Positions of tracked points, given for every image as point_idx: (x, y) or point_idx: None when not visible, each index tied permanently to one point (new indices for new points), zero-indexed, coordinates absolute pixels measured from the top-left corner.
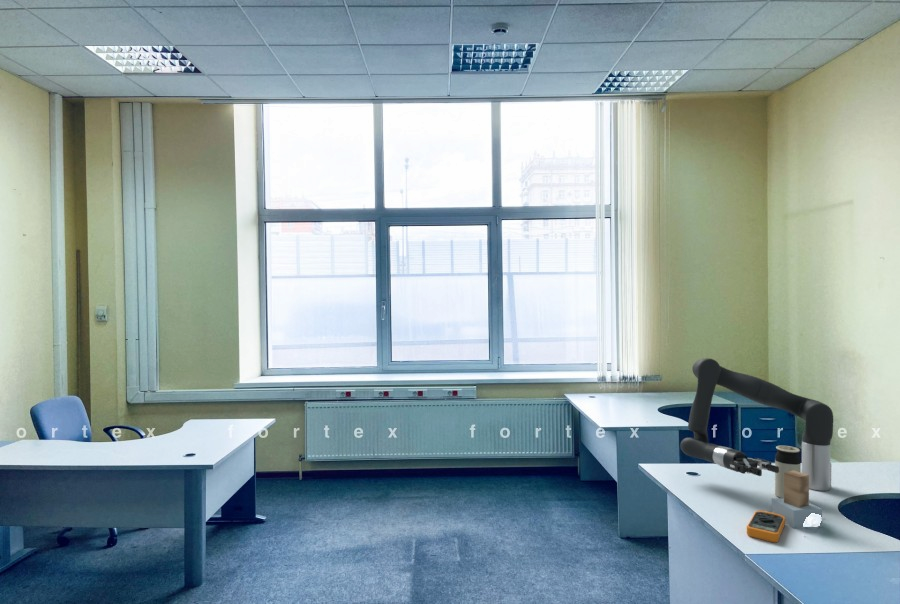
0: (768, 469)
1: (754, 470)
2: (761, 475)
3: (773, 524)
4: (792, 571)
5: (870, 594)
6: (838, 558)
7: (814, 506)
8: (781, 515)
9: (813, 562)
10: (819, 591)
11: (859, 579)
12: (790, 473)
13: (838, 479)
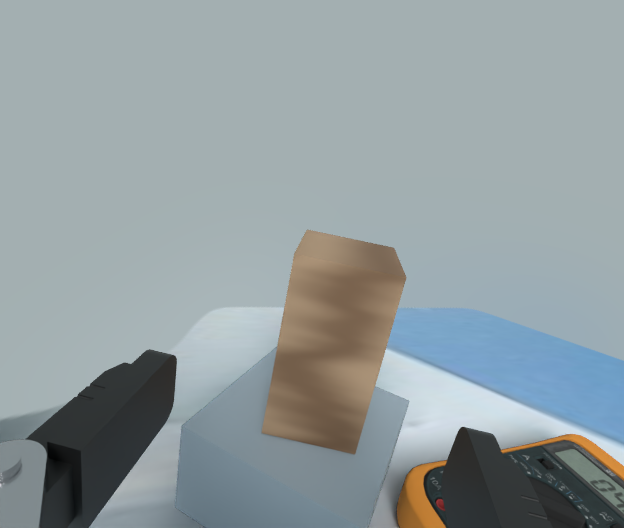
0: (90, 511)
1: (538, 505)
2: (442, 478)
3: (535, 471)
4: (615, 394)
5: (504, 321)
6: (443, 354)
7: (271, 364)
8: (413, 481)
9: (526, 379)
10: (597, 357)
11: (479, 330)
12: (382, 262)
13: None
